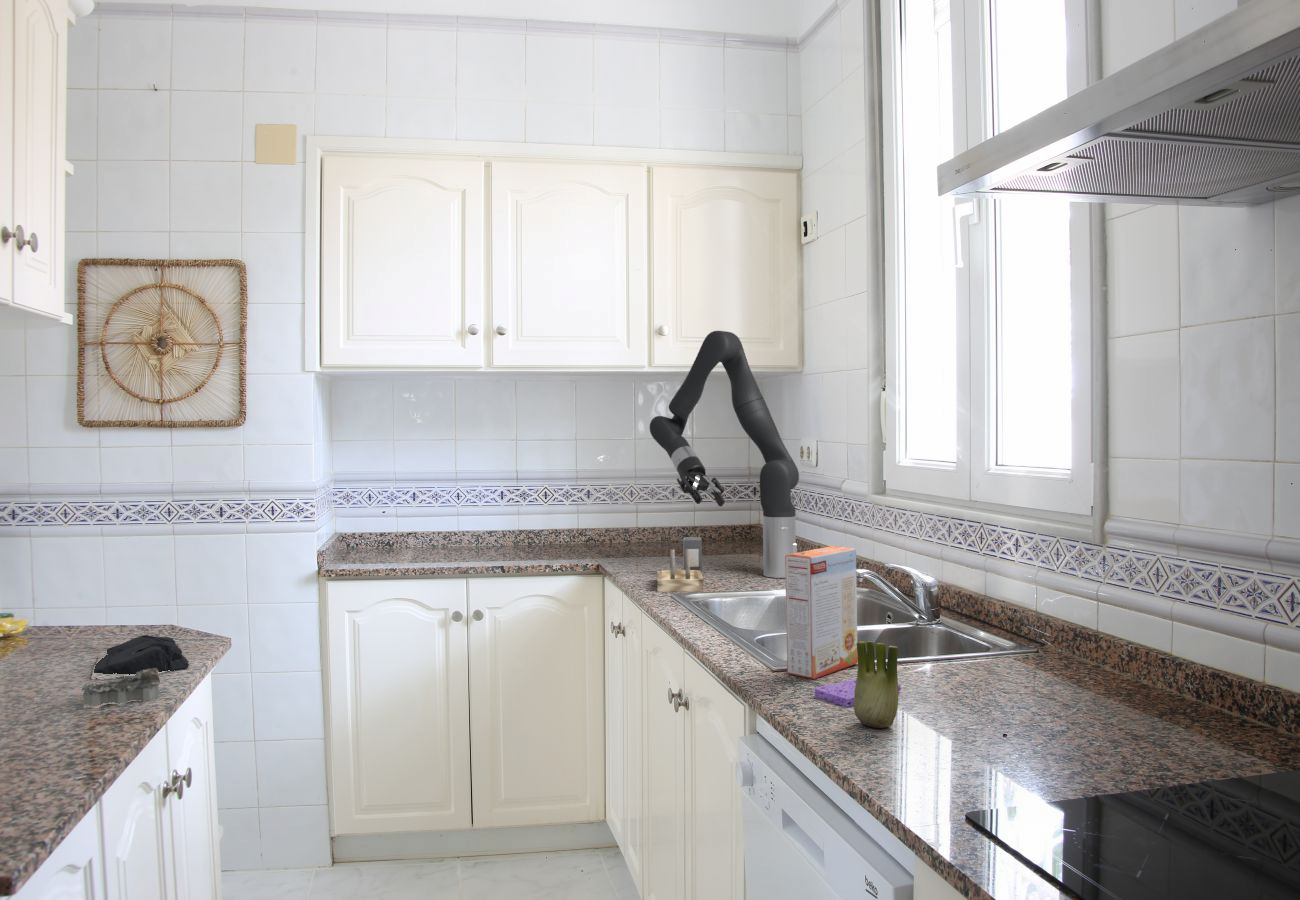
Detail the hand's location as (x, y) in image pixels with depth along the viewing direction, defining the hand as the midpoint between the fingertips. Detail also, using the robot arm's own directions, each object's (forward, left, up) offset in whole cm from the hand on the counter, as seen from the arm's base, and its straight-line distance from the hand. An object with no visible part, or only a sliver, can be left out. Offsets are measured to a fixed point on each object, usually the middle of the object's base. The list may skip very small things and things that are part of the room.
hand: (711, 503), depth 256 cm
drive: (+6, +1, -21) cm, 22 cm away
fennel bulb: (-15, +130, -21) cm, 132 cm away
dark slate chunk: (+111, +93, -22) cm, 146 cm away
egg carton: (+100, +116, -22) cm, 155 cm away
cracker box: (-13, +100, -21) cm, 103 cm away
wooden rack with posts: (+10, +16, -21) cm, 28 cm away
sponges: (-16, +114, -22) cm, 118 cm away
